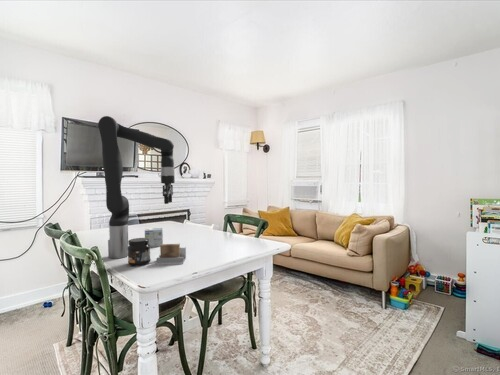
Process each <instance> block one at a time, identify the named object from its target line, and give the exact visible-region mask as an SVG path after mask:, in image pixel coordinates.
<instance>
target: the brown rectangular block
mask: <svg viewBox="0 0 500 375" xmlns="http://www.w3.org/2000/svg"><path fill="white" fill-rule="evenodd" d="M180 246H181V245H180V243H163V244H161V245H160V246H159V248H160V249H159V250H160V251H159V252H161V258H167V257H180Z"/></svg>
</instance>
